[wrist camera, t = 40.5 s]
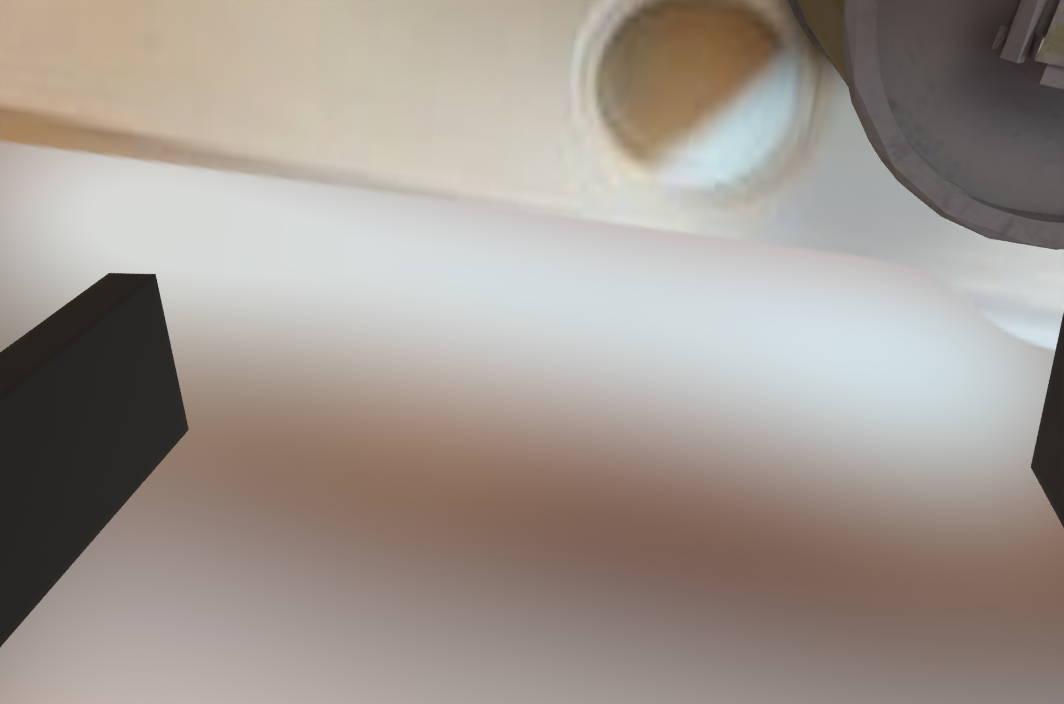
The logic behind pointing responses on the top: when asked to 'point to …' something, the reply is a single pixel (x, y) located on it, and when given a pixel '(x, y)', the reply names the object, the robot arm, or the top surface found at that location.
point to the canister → (959, 103)
